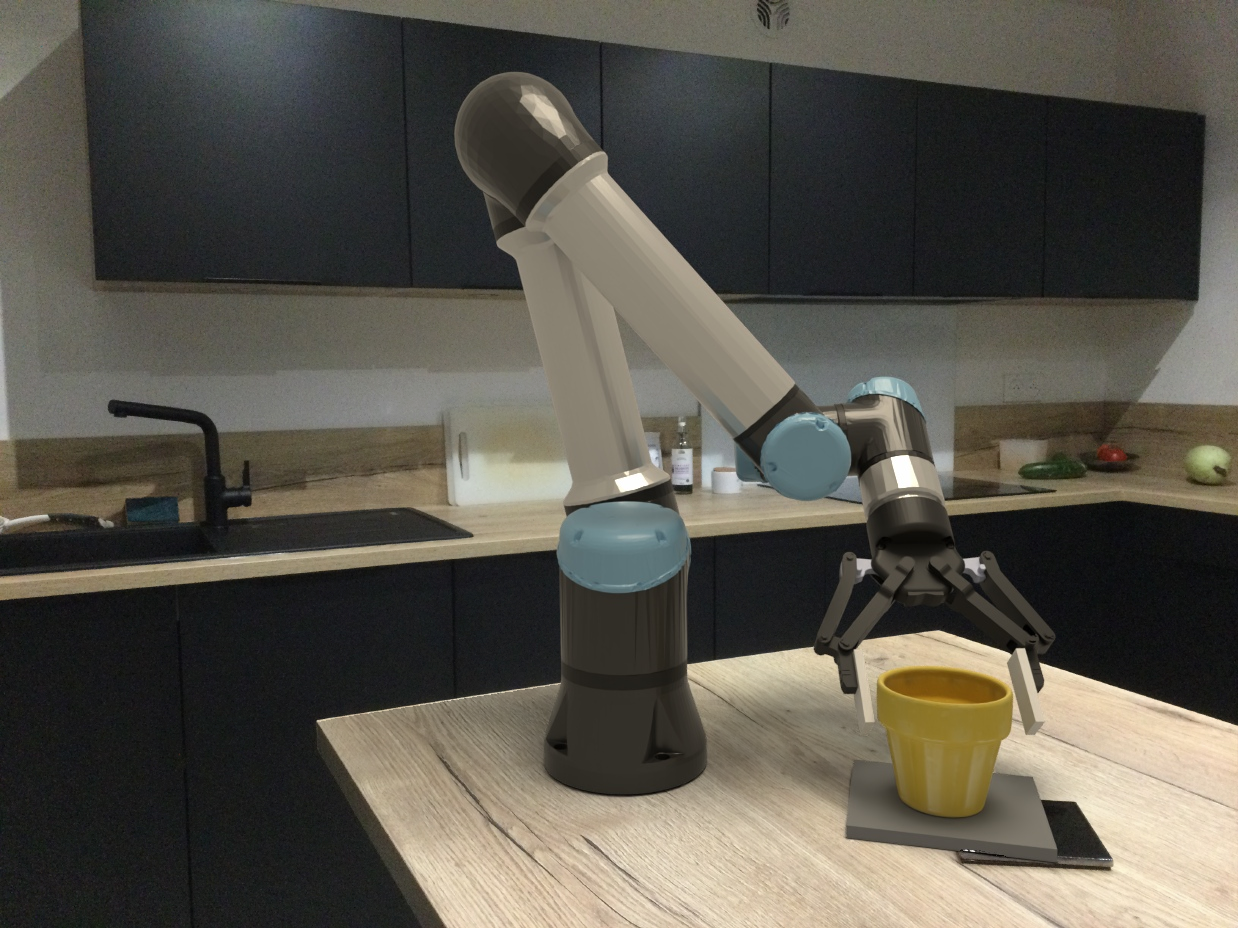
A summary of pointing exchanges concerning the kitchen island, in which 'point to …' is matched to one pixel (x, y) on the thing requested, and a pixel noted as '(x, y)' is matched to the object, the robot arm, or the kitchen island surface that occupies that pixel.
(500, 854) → the kitchen island surface
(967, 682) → the plant pot
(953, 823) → the trivet mat
